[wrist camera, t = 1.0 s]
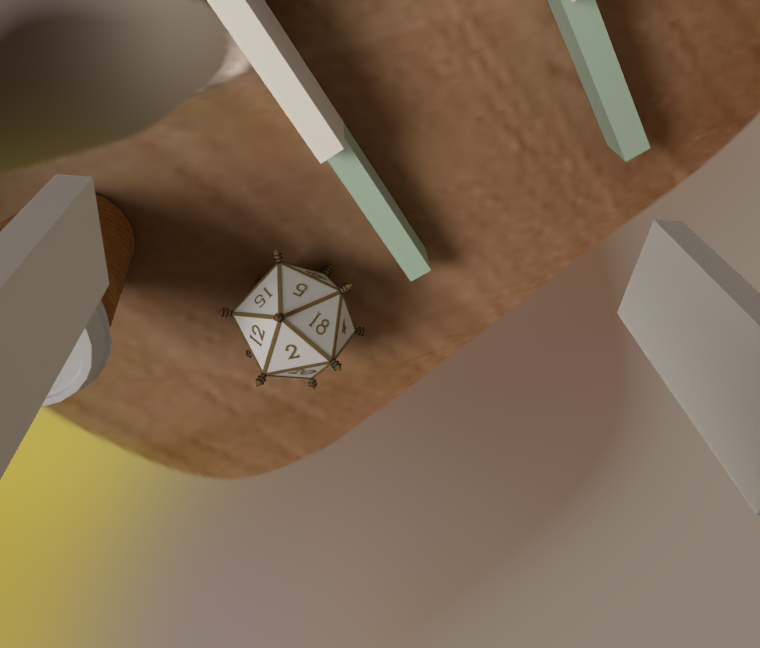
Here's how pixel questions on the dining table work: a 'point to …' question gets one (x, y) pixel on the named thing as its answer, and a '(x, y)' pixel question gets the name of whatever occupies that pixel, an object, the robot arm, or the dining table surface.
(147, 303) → the dining table surface
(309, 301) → the game die
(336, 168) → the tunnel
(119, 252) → the disposable coffee cup
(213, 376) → the dining table surface
